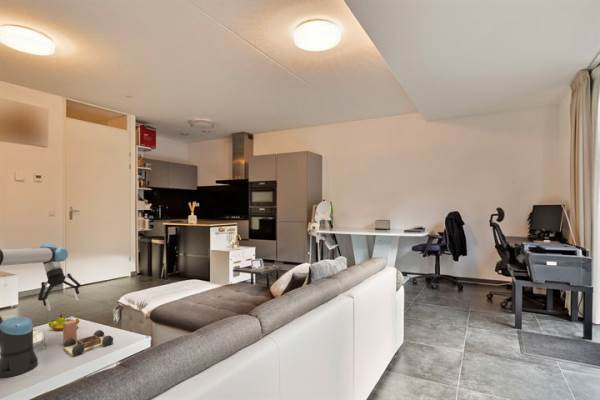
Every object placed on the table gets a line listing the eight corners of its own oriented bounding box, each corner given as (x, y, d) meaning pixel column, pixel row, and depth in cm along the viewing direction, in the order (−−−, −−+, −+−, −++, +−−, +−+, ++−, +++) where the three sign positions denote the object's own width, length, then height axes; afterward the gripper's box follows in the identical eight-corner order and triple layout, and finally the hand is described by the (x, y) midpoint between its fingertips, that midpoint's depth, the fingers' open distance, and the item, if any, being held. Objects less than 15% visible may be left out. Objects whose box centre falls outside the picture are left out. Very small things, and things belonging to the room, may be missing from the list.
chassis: (71, 357, 165) (71, 347, 165) (63, 349, 174) (62, 340, 174) (114, 343, 181) (114, 334, 181) (104, 337, 190) (103, 328, 190)
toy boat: (73, 331, 200) (73, 315, 200) (44, 332, 200) (44, 315, 200) (80, 327, 206) (80, 311, 206) (53, 328, 207) (52, 312, 207)
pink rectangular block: (66, 346, 179) (65, 324, 179) (63, 343, 182) (62, 322, 182) (76, 342, 183) (76, 321, 183) (73, 340, 186) (73, 319, 186)
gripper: (80, 262, 195) (90, 296, 191) (30, 279, 184) (39, 315, 180) (77, 260, 188) (87, 295, 184) (24, 277, 177) (34, 315, 174)
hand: (63, 305), depth 182 cm, fingers open, 13 cm apart
